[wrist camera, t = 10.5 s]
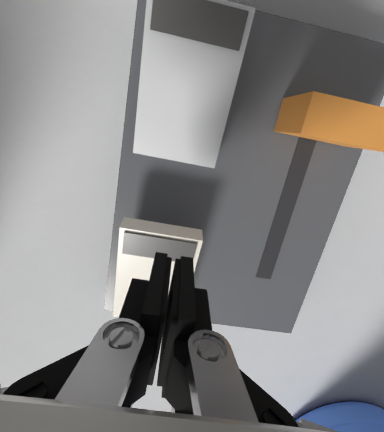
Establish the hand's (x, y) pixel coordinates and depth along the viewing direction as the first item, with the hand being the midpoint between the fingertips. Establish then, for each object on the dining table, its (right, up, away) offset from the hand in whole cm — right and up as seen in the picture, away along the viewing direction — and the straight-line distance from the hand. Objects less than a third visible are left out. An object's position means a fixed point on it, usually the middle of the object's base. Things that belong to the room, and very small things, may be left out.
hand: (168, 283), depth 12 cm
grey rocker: (+1, +10, +3) cm, 10 cm away
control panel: (+4, +5, +10) cm, 12 cm away
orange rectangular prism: (+9, +9, +5) cm, 14 cm away
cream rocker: (-2, -1, +7) cm, 7 cm away
